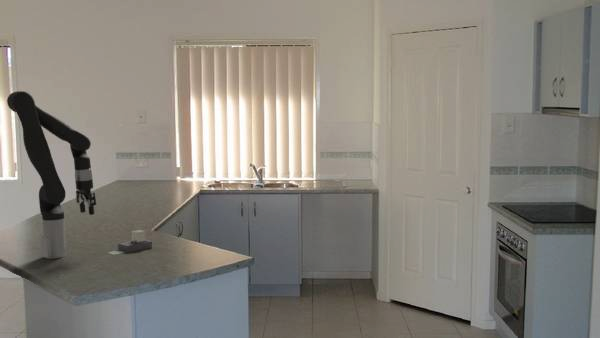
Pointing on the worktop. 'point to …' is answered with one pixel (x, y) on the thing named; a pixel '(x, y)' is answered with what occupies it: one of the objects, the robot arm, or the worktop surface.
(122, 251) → the mat
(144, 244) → the grey holder tray
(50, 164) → the robot arm
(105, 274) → the worktop surface
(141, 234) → the beige rectangular block
